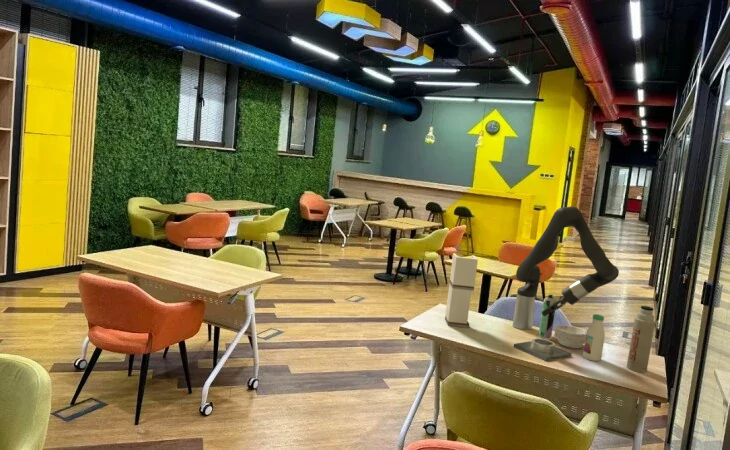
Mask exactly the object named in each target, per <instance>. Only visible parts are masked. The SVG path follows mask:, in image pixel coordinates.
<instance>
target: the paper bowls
mask: <svg viewBox="0 0 730 450" xmlns="http://www.w3.org/2000/svg"><path fill="white" fill-rule="evenodd" d="M586 334H587V330H586V329H584V328H581V327H577V326H574V325H567V324H566V325H565V324H561V325H560V324H558V325H556V326H555V329H554V338H556V339H557V342H558V343H559V344H560V345H562V346H564V347H567V348H571V349H580V348H582V347H583V345H585V339H586Z"/></svg>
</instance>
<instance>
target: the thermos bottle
mask: <svg viewBox="0 0 730 450" xmlns="http://www.w3.org/2000/svg"><path fill="white" fill-rule="evenodd" d="M655 324H656V320H655V315H654V308H653V307H651V306H648V305H647V306H646V305H641V306H640V309H639V312H637V313H636V317H634V321H633V327H632V332H631V337H630V338H631V339H630V345H629V351H628V357H627V361H626V369H628V370H630V371H633V372H637V373H643V374H644V373H647V372H648V371H647V370H648V366H649V361H650V354H651V348H652V343H653V337H654V333H655V332H654V331H655V326H656V325H655Z"/></svg>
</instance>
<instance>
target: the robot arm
mask: <svg viewBox="0 0 730 450" xmlns="http://www.w3.org/2000/svg"><path fill="white" fill-rule="evenodd" d="M569 227H573V228H574V229H575V230H576V232H577V233H578V236H579V241H580V246H581V249H582V252H583V253H584V254H585V256H586V257H587V258H588V260H589V261H590V262H591V264H592V266H593V267H594V270H595V271H596V272H595V273H589V274H586V275H585V276H583V277H581V278H580V279H579V280H576V281H574V282H573V283H572V284H570V285H568V286H567V287H566V288H564V289H562V290H561V295H560V296H559V297H557V299H555V300H556V301H555V302H553V303H552V305H551V306H549V307H548V308H547V309H545V310H544V311H542V310H541V315H542V314H543V316H546V315H547V314H549V313H550V312H554V311H555V312H556V311H557V310H559V309H561V308H562V307H564V306H566V304H567V303H568V304H569V305H571V306H573V305H575V304H576V303H577V302H579V301H581V300H583V299H584V298H586V297H587V296H588V295H590V293H593V292H594V291H596V290H597V289H598V288H600V287H603V286H605V285H607V284H610V283H612V282H614V281H615V280H616V279H617V278H618V276H619V275H620V274H619V273H620V270H619V268H618V267H617V266H616V265H615V264H613V263H612V262H611V260H610V259H609V258H608V256H606V253H605V251H604V249H603V248H602V247H601V245H600V244H599V243H598V241H597V240H596V239H595V236H594V235H593V232H592V231H591V229H590V227H589V225H588V223H587V221H586V219H585V217H584V215H583V213H582V211H580V209H579V207H576V206H563V207H560V208H557V209H556V210H555V212H554V213H553V215H552V217H551V219H550V221H549V223H548V224H547V227H546V228H545V230H544V231H543V232H542V235H541V236H540V237H539V239H538V240H537V242H536V243H535V245H534V246H533V248H532V249H531V250H530V252H529V254H528V255H527V256H526V257H525V258H524V259H523V261H522V262H521V263H520V264H519V265H518V267H517V269H516V272H515V278H516V279H517V280H518V281H519V282H520V283H521V282H522V283H526V284H524V285H522V286H521V287H519V288H517V291H516V292H517V293H516V299H515V306H514V313H513V319H512V327H514V328H516V329H519V330H525V331H526V330H527V331H528V330H531V329H533V322H534V317H535V310H534V308H535V302H536V295H537V292H538V290H539V284H540V280H541V279H540V278H541V269H540V267H539V264H541V263H543V262H545V261H546V260H549V258H551V257H552V256H553V254H554V253H555V252H556V250H557V248H558V246H559V238H558V237H559V235H560V233H561V232H562V231H563V230H564V229H566V228H569ZM553 306H554V308H555V309H553V308H552V307H553Z"/></svg>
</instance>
